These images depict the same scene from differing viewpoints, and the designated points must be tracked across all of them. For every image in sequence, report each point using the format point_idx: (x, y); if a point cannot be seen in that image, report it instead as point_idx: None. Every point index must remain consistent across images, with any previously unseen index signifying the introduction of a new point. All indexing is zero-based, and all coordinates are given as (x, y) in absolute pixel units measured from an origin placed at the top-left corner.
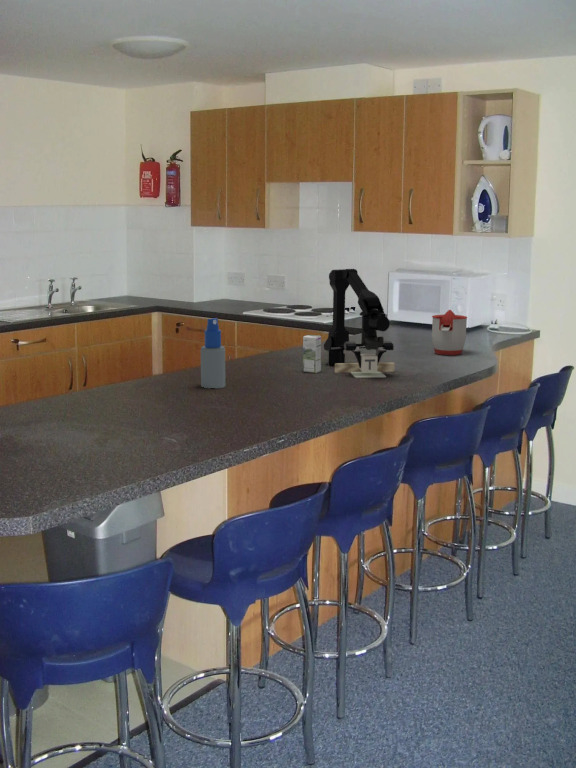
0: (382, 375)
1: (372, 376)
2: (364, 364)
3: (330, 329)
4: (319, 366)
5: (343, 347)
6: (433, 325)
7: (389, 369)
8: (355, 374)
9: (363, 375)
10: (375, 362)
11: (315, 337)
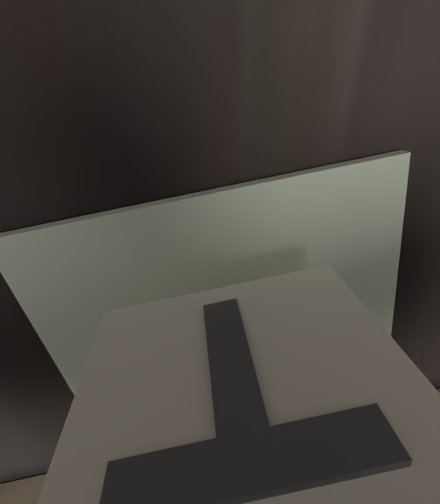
0: (43, 286)
1: (171, 200)
2: (347, 350)
3: None
4: None
5: None
6: None
7: (22, 502)
8: (369, 295)
9: (287, 253)
10: (102, 443)
11: None
